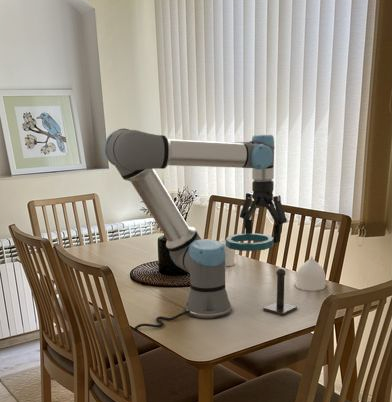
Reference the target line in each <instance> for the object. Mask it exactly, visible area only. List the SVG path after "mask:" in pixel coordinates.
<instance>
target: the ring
mask: <svg viewBox="0 0 392 402" xmlns="http://www.w3.org/2000/svg"><path fill="white" fill-rule="evenodd" d="M225 240H226V246H227V247H228V248H229V249H234V250H235V251H238V252H239V251H240V252H257V251H265V250H268V249H271V248H273V247H274V244H275V243H274V236H271V235H269V234H264V233H253V232H252V233H246V232H245V233H236V234H232V235H228V236H227V237H226V238H225ZM248 241H249V242H248Z"/></svg>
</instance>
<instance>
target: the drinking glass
mask: <svg viewBox="0 0 392 402" xmlns="http://www.w3.org/2000/svg"><path fill="white" fill-rule="evenodd" d="M217 241H218V242H220V243H221V244H222V245H223V246H224V249H225V255H226V258H225V267H232V266H234V265H235V257H236V250H234V249H229V248H228V247H227V246H226V239H220V240H217Z"/></svg>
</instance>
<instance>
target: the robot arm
mask: <svg viewBox="0 0 392 402" xmlns="http://www.w3.org/2000/svg"><path fill="white" fill-rule="evenodd" d="M103 146H104V147H103V150H104V155H105V157H106V159H107V161H108V162H109V163H110V164H111V165H113V166H114V167H115V168H116V170H117V171H118V173H119V175H120V176H121V178H122V180H124V181H127V182H130V183H131V184H132V186H133V188H134V189H135V192H136V193H137V195H138V196H139V198H140V199H141V200H142V202H143V204H144V205H145V207H146V208H147V210H148V211H149V214H150V215H151V216H152V218H153V219H154V221H155V223H156V225H157V226H158V228H159V229H160V231H161V232H162V234H163V235H164V237H165V239H166V243H165V246H166V248H167V250H168V251H169V256H170V259H171V260H172V262H173V264H174V265H176V267H178V268H179V269H181V270H183V271H185V272H186V273H188V274H189V284H190V289H189V294H188V297H187V302H186V304H185V311H183V312H180V313H177V314H176V315H174V316H171V317H166V316H162V315H161V316H157V317H156V318H155V320H156V322H157V323H158V324H152V323H139V324H137V325H135V327H133V329H132V331H137V330H138V329H139V328H141V327H149V328H161V327H163V326H164V322H163V321H162V320H165V321H173V320H176V319H177V318H180V317H182V316H184V315H185V316H186V315H188V316H190V317H192V318H196V319H202V320H203V319H205V320H210V319H219V318H222V317H226V316H228V315H230V313H231V312H232V305H231V301H230V300H229V296H228V292H227V288H226V266H225V258H226V255H225V249H224V246H223V245H222V244H221V243H220V242H218V241H219V240H215V239H214V240H212V239H207V238H202V237H201V236H200V235H199V233H198V231H197V230H196V228H195V227H193V226H189V224H188V223H187V221H186V220H185V218H184V217H183V215H182V213H181V212H180V210H179V207H177V205H176V202H174V200H173V198H172V197H171V194H170V193H169V191H168V190H167V188H166V187H165V185H164V183H163V182H162V180H161V178H160V176H159V175H158V173H157V171H156V170H157V169H158V170H160V169H162V170H165V169H166V168H167V167H169V166H174V167H175V166H177V167H179V166H180V167H205V168H206V167H207V168H208V167H209V168H210V167H211V168H241V169H251V179H252V180H253V181H252V183H251V185H252V186H251V190H252V191H251V192H246V193H245V199H244V203H243V205H242V207H241V211H240V213H239V218H240V219H243V227H244V229H245V233H253V224H252V223H253V219H251V218H252V216H253V215H254V213H255V212H256V210H257V209H258V207H262V208H266V210H267V211H268V212H269V214H270V216H271V218H272V219H273V221H274V223H275V224H273V238H274V244H278V243H280V242H281V234H282V232H283V224H286V223H287V222H288V220H287V217H286V213H285V210H284V207H283V204H282V199H281V198H282V197H281V195H280V194H278V195H274V194H273V192H274V190H275V189H274V187H275V185H274V184H275V182H274V180H273V179H275V178H274V177H275V148H276V147H275V137H274V135H272V134H270V133H269V134H267V133H265V134H264V133H263V134H253V136H252V138H251V140H250V141H235V142H231V141H230V142H228V141H227V142H225V141H208V140H207V141H205V140H188V139H174V138H173V139H171V138H168V137H167V136H166V135H163V134H155V133H148V132H145V131H141V130H138V129H129V128H119V129H116V130H114V131H112V132H111V133H110V134H109V135H107V137H106V139H105V142H104V145H103Z"/></svg>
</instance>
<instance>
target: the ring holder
mask: <svg viewBox="0 0 392 402" xmlns="http://www.w3.org/2000/svg"><path fill="white" fill-rule="evenodd" d="M275 274H276V302H273V303H271V304H268V305H267V306H264V307H263V310H262V311H264V312H267V313H271V314H274V315H278V316H281V317H284V316H286V315H288V314H290V313H292V312H294V311H296V310H297V309H298V306H296V305H292V304H289V303H285V281H286V280H285V279H286V278H285V277H286V270H285V269H284V268H281V267H280V268H278V269H277V270H276V272H275Z"/></svg>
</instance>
